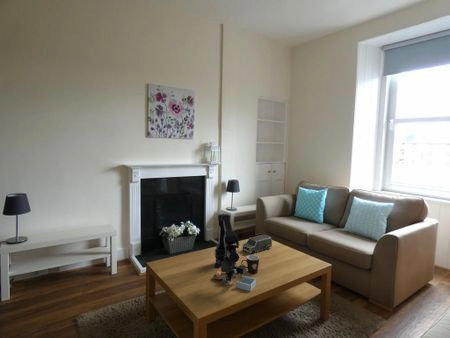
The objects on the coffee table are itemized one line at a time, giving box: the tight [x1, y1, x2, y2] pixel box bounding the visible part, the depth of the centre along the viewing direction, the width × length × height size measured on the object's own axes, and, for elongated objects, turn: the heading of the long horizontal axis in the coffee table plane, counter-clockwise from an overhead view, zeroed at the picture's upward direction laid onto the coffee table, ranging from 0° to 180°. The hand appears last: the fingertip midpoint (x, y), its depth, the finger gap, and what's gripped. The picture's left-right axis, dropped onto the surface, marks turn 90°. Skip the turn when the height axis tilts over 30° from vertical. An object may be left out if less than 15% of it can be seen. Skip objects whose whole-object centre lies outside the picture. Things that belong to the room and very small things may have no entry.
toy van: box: [241, 234, 273, 255], centre depth 223 cm, size 11×25×10 cm, turn 126°
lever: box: [212, 272, 240, 285], centre depth 168 cm, size 16×13×3 cm
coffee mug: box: [240, 254, 260, 275], centre depth 184 cm, size 12×9×10 cm
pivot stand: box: [221, 274, 229, 285], centre depth 171 cm, size 3×8×5 cm, turn 153°
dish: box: [235, 274, 257, 292], centre depth 166 cm, size 9×9×4 cm
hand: (229, 280), depth 161 cm, fingers closed
